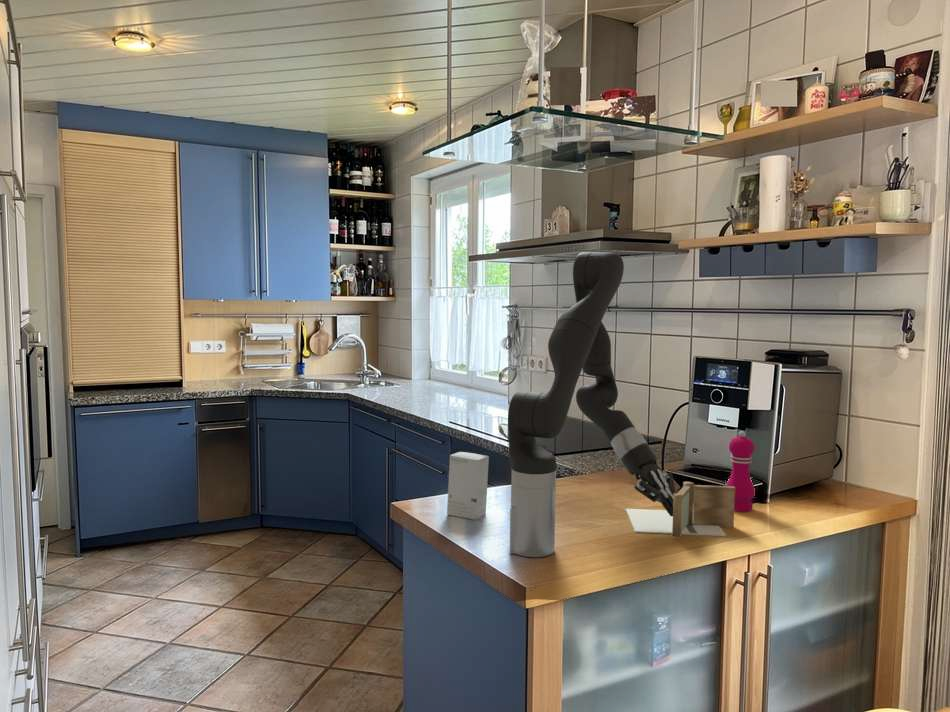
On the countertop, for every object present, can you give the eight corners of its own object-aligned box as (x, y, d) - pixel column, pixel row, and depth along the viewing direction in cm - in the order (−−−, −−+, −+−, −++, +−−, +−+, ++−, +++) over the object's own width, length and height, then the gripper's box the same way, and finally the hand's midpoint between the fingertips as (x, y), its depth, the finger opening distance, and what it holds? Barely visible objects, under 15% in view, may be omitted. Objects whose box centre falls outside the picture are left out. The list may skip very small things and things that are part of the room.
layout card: (634, 532, 154) (635, 530, 154) (625, 509, 170) (625, 508, 170) (725, 536, 152) (726, 534, 152) (707, 513, 169) (707, 511, 168)
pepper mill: (754, 514, 168) (758, 434, 166) (723, 510, 170) (726, 432, 169) (753, 506, 175) (757, 429, 173) (724, 503, 177) (726, 427, 176)
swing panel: (679, 537, 148) (681, 496, 147) (671, 536, 149) (672, 495, 148) (690, 523, 158) (691, 484, 157) (682, 522, 158) (683, 483, 158)
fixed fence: (683, 526, 158) (684, 484, 157) (680, 522, 161) (682, 481, 160) (734, 528, 157) (736, 485, 156) (731, 525, 159) (733, 483, 159)
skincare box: (446, 515, 164) (447, 455, 163) (458, 509, 170) (458, 450, 169) (477, 520, 161) (478, 459, 160) (488, 513, 166) (489, 454, 165)
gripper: (626, 445, 155) (670, 511, 147) (659, 438, 164) (703, 500, 156) (606, 463, 160) (648, 528, 152) (640, 456, 168) (681, 516, 160)
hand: (676, 514), depth 154 cm, fingers closed
